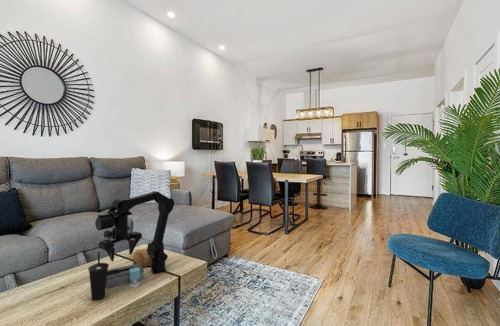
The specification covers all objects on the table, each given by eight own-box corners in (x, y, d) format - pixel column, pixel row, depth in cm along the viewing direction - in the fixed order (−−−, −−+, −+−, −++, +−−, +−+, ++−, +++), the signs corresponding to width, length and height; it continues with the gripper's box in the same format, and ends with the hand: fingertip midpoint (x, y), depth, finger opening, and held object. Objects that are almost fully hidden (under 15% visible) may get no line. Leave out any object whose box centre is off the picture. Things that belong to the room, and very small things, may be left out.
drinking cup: (93, 304, 104) (94, 256, 104) (84, 298, 108) (84, 252, 108) (112, 296, 111) (112, 251, 110) (102, 291, 115) (103, 247, 114)
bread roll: (140, 270, 136) (140, 255, 136) (128, 262, 147) (128, 248, 146) (156, 265, 144) (157, 251, 143) (144, 257, 154) (145, 244, 154)
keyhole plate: (139, 272, 134) (139, 263, 134) (143, 279, 126) (143, 269, 126) (100, 281, 123) (100, 271, 123) (102, 289, 116) (102, 278, 116)
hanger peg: (138, 282, 123) (138, 266, 123) (140, 286, 120) (140, 270, 120) (128, 284, 121) (128, 269, 121) (130, 288, 117) (130, 272, 117)
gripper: (128, 218, 132) (129, 248, 132) (91, 227, 116) (92, 261, 116) (142, 221, 126) (142, 252, 127) (105, 231, 110) (105, 266, 111)
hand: (121, 257), depth 120 cm, fingers open, 9 cm apart
